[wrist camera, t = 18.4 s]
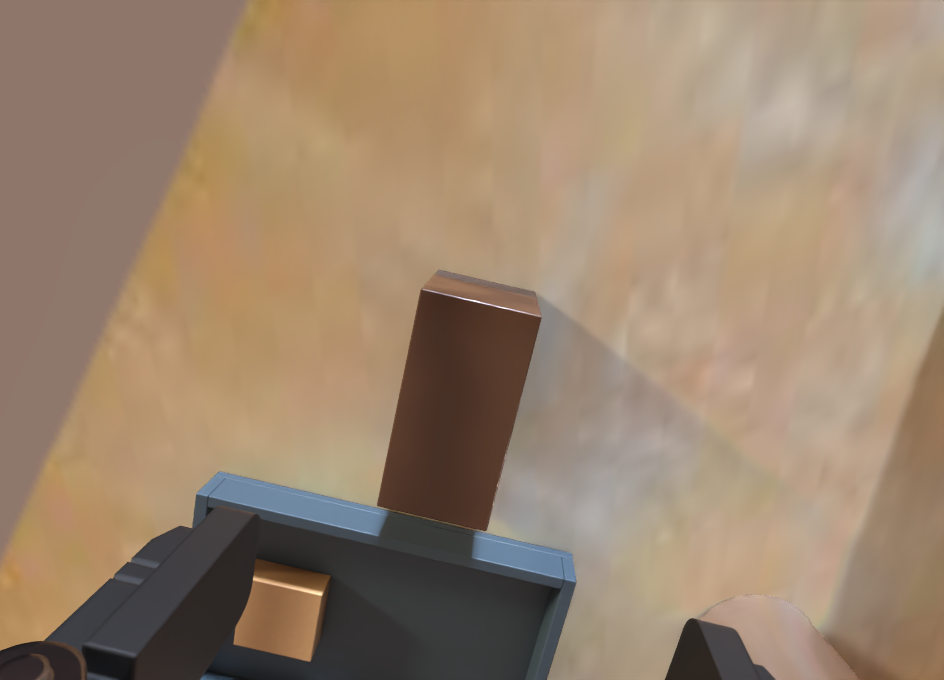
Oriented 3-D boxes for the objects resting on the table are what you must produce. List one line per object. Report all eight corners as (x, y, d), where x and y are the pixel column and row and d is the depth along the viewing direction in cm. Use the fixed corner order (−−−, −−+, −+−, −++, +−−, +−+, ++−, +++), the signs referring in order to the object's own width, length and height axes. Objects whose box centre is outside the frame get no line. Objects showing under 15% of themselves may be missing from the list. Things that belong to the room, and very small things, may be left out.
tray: (572, 553, 30) (577, 581, 28) (515, 742, 33) (515, 782, 31) (218, 470, 30) (195, 493, 28) (194, 667, 33) (171, 701, 31)
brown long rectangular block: (535, 291, 27) (542, 316, 22) (490, 470, 29) (486, 532, 24) (438, 269, 27) (420, 288, 22) (400, 449, 29) (376, 506, 24)
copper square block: (331, 574, 31) (322, 595, 29) (320, 639, 32) (310, 662, 30) (255, 557, 31) (241, 577, 29) (246, 622, 32) (232, 644, 30)
